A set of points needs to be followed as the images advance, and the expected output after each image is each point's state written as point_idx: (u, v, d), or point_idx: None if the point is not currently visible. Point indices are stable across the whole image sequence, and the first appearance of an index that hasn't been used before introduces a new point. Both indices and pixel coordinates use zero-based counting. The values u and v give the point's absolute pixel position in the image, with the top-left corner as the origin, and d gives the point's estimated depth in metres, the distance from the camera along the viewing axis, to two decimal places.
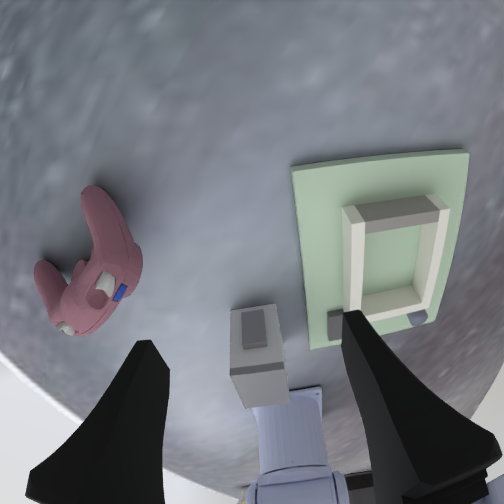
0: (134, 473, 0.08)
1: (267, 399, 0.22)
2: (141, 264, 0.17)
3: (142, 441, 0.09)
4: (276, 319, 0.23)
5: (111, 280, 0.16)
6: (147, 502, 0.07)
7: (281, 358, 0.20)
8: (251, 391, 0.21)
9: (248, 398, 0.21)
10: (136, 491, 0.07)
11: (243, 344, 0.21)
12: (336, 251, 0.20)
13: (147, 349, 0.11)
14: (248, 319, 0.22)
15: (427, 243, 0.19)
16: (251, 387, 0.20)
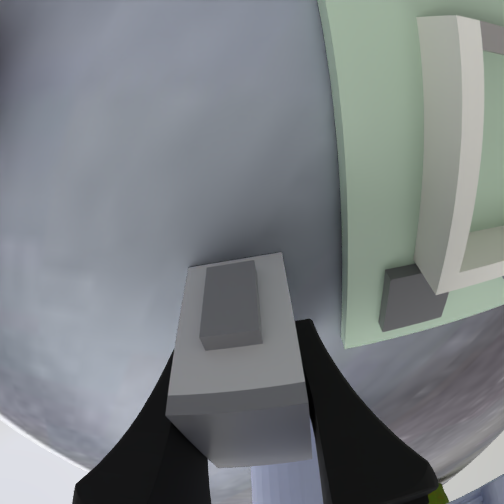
0: (187, 477, 0.07)
1: (263, 456, 0.09)
2: None
3: None
4: (284, 282, 0.10)
5: None
6: None
7: (299, 373, 0.07)
8: (226, 445, 0.08)
9: (221, 455, 0.09)
10: (189, 495, 0.07)
11: (202, 336, 0.08)
12: (412, 117, 0.08)
13: None
14: (220, 280, 0.10)
15: None
16: (223, 439, 0.08)
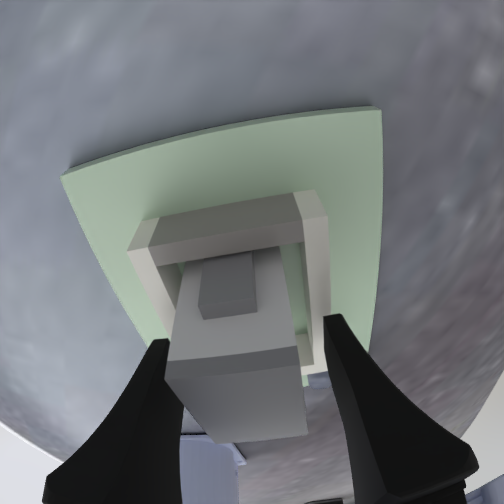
0: (154, 475, 0.07)
1: (259, 429, 0.10)
2: None
3: (161, 442, 0.09)
4: (278, 258, 0.11)
5: None
6: None
7: (291, 338, 0.08)
8: (222, 415, 0.09)
9: (218, 428, 0.10)
10: (156, 493, 0.07)
11: (201, 305, 0.09)
12: None
13: (165, 348, 0.11)
14: (218, 256, 0.11)
15: (305, 276, 0.12)
16: (220, 407, 0.09)
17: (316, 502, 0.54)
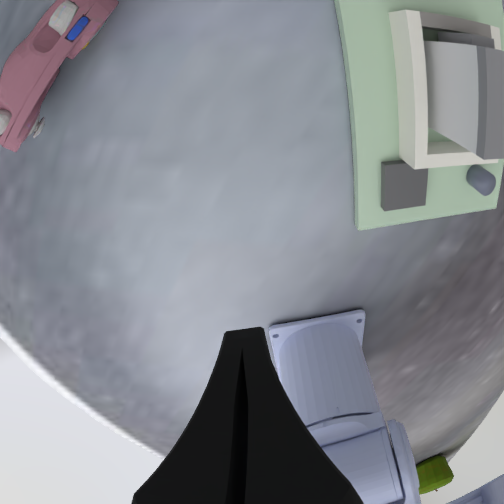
0: (245, 476, 0.07)
1: None
2: (115, 4, 0.09)
3: (246, 439, 0.08)
4: None
5: (72, 10, 0.08)
6: None
7: None
8: (501, 102, 0.09)
9: (495, 124, 0.10)
10: None
11: (472, 35, 0.09)
12: (388, 66, 0.14)
13: (242, 339, 0.10)
14: None
15: None
16: (502, 90, 0.09)
17: None
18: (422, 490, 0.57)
